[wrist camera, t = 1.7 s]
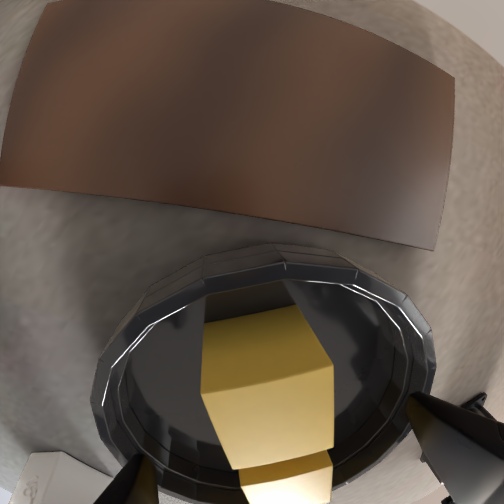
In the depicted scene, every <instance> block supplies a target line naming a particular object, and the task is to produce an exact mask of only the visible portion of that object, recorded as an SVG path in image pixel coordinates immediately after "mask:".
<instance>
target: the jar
mask: <svg viewBox="0 0 504 504" xmlns="http://www.w3.org/2000/svg"><path fill="white" fill-rule="evenodd" d="M113 479H114V478H112V477H110V476H108V475H106V474H104V473H101V472H99V471H97V470H95V469H93V468H91V467H89V466H88V465H86V464H84V463H82V462H80V461H78V460H76V459H75V458H73V457H71V456H69V455H68V454H66V453H64V452H62V451H59V452H38V453H31V454H30V457H29V459H28V461H27V463H26V465H25V467H24V469H23V471H22V474H21V476H20V478H19V480H18V482H17V485H16V487H15V489H14V492H13V494H12V497H11V499H10V501H9V504H93V503H94V502H95V500H96V499H97V498H98V497H99V496H100V495H101V493H102V492H103V491H104V490H105V489H106V487H107V486H108V485H109V484H110V483H111V481H112V480H113Z"/></svg>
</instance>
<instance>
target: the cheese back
mask: <svg viewBox="0 0 504 504" xmlns="http://www.w3.org/2000/svg"><path fill="white" fill-rule="evenodd" d="M332 472H333V464H332V462H331V459H330V457H329V454H328V452H327V450H323V451H319V452H316V453H312V454H309V455H305V456H301V457H297V458H293V459H289V460H284V461H280V462H275V463H270V464H265V465H260V466H254V467H248V468H241V469H239V478H240V486H241V488H242V490H243V492H244V494H245V496H246V498H247V500H248V501H249V503H250V504H324V503H328V502H330V501H331V489H332Z"/></svg>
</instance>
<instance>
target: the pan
mask: <svg viewBox="0 0 504 504" xmlns="http://www.w3.org/2000/svg"><path fill="white" fill-rule="evenodd" d="M292 305H297V306H298V308H299V309H300V311H301V313H302V314H303V316H304V318H305V319H306V321H307V322H308V324H309V326H310V327H311V329H312V330H313V332H314V334H315V335H316V337H317V339H318V340H319V342H320V343H321V345H322V347H323V348H324V350H325V352H326V353H327V355H328V357H329V358H330V360H331V361H332V363H333V365H334V447H333V448H330V449H326V450H327V452H328V454H329V457H330V459H331V462H332V464H333V472H332V489H331V491H333V490H335V489H338V488H340V487H342V486H344V485H346V484H348V483H350V482H352V481H353V480H355V479H356V478H358V477H359V476H361V475H363V474H364V473H366V472H367V471H368V470H370V469H371V468H373V467H374V466H376V465H377V464H379V463H380V462H381V461H382V460H383V459H384V458H385V457H387V456H388V455H389V454H390V453H391V452H392V451H393V450H394V449H395V448H396V446H397V445H398V444H399V443H400V442H401V441H402V440H403V439H404V438H405V437H406V436H407V435H408V433H409V432H410V431H411V429H412V427H411V425H410V423H409V421H408V419H407V417H406V414H405V408H406V404H407V399H408V396H409V395H410V394H412V393H414V392H416V391H422V392H424V393H426V394H429V395H430V391H431V388H432V384H433V379H434V375H435V371H436V357H435V350H434V343H433V336H432V330H431V327H430V326H429V325H428V323H427V322H426V320H425V319H424V317H423V316H422V314H421V313H420V312H419V310H418V309H417V307H416V306H415V304H414V303H413V302H412V300H411V299H410V298H409V296H408V295H407V294H406V293H404V292H403V291H402V290H400V289H399V288H397V287H396V286H394V285H393V284H391V283H389V282H388V281H386V280H385V279H383V278H382V277H380V276H379V275H377V274H376V273H374V272H372V271H370V270H369V269H367V268H365V267H363V266H361V265H359V264H357V263H355V262H353V261H351V260H349V259H348V258H346V257H344V256H342V255H340V254H338V253H336V252H334V251H330V250H327V249H318V248H310V247H302V246H294V245H286V244H277V243H271V244H270V243H266V244H261V245H256V246H251V247H245V248H240V249H235V250H230V251H225V252H220V253H215V254H210V255H206V256H203V257H202V258H200V259H198V260H196V261H194V262H193V263H191V264H189V265H187V266H185V267H184V268H182V269H180V270H178V271H176V272H175V273H173V274H171V275H169V276H168V277H166V278H164V279H162V280H161V281H159V282H157V283H155V284H153V285H152V286H151V287H149V289H148V290H147V291H146V292H145V293H144V295H143V296H142V297H141V298H140V299H139V300H138V302H137V303H136V304H135V305H134V306H133V308H132V309H131V310H130V311H129V312H128V314H127V315H126V316H125V317H124V318H123V320H122V321H121V322H120V323H119V325H118V326H117V328H116V330H115V331H114V333H113V335H112V336H111V338H110V340H109V341H108V343H107V345H106V347H105V348H104V350H103V352H102V354H101V355H100V358H99V360H98V364H97V369H96V373H95V378H94V382H93V387H92V392H91V397H90V403H91V407H92V411H93V415H94V418H95V422H96V425H97V429H98V432H99V435H100V438H101V440H102V441H103V443H104V444H105V445H106V447H107V448H108V449H109V450H110V452H111V453H112V454H113V456H114V457H115V458H116V459H117V461H118V462H119V463H120V464H121V465H122V467H124V466H125V464H126V463H127V462H128V461H129V460H130V458H131V457H132V456H133V455H134V454H146V455H147V456H148V457H149V458H150V460H151V461H152V462H153V464H154V465H155V467H156V470H157V483H158V491H160V492H162V493H165V494H167V495H170V496H172V497H175V498H178V499H180V500H183V501H186V502H189V503H193V504H250V503H249V501H248V500H247V498H246V496H245V494H244V492H243V490H242V488H241V486H240V478H239V469H235V470H234V469H232V467H231V465H230V463H229V461H228V458H227V456H226V454H225V452H224V450H223V447H222V445H221V443H220V440H219V438H218V436H217V433H216V431H215V429H214V426H213V424H212V422H211V419H210V417H209V414H208V412H207V409H206V407H205V404H204V402H203V399H202V396H201V394H200V390H201V367H202V348H203V331H204V323H209V322H214V321H220V320H225V319H230V318H235V317H240V316H245V315H250V314H255V313H260V312H264V311H269V310H274V309H278V308H283V307H287V306H292Z"/></svg>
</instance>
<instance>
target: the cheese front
mask: <svg viewBox="0 0 504 504" xmlns="http://www.w3.org/2000/svg"><path fill="white" fill-rule="evenodd" d="M200 394H201V396H202V399H203V402H204V404H205V407H206V409H207V412H208V414H209V417H210V419H211V422H212V424H213V426H214V429H215V431H216V433H217V436H218V438H219V440H220V443H221V445H222V447H223V450H224V452H225V454H226V456H227V458H228V461H229V463H230V465H231V467H232V469H234V470H235V469H241V468H248V467H254V466H260V465H265V464H270V463H275V462H280V461H284V460H289V459H293V458H297V457H301V456H305V455H309V454H312V453H316V452H319V451H323V450H326V449H330V448H333V447H334V365H333V363H332V361H331V360H330V358H329V357H328V355H327V353H326V352H325V350H324V348H323V347H322V345H321V343H320V342H319V340H318V339H317V337H316V335H315V334H314V332H313V330H312V329H311V327H310V326H309V324H308V322H307V321H306V319H305V318H304V316H303V314H302V313H301V311H300V309H299V308H298V306H297V305H292V306H287V307H283V308H278V309H274V310H269V311H264V312H260V313H255V314H250V315H245V316H240V317H235V318H230V319H225V320H220V321H214V322H209V323H204V331H203V348H202V367H201V390H200Z"/></svg>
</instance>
